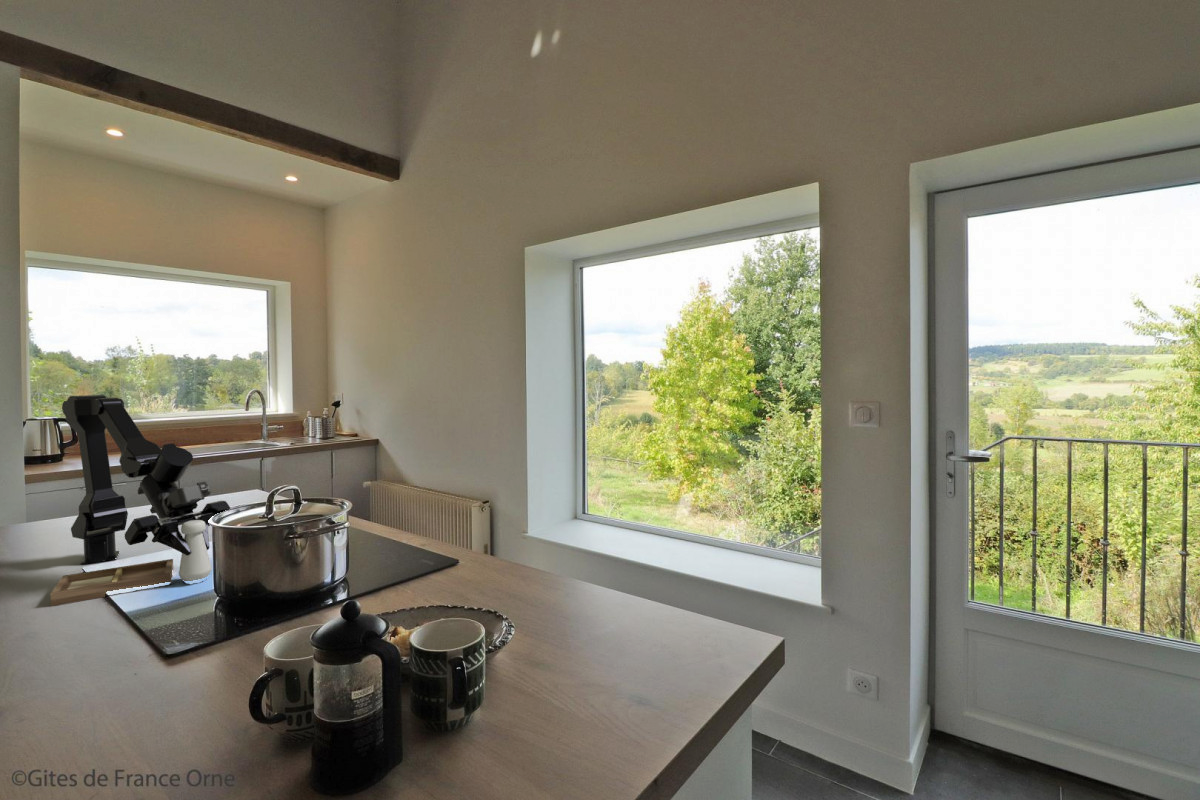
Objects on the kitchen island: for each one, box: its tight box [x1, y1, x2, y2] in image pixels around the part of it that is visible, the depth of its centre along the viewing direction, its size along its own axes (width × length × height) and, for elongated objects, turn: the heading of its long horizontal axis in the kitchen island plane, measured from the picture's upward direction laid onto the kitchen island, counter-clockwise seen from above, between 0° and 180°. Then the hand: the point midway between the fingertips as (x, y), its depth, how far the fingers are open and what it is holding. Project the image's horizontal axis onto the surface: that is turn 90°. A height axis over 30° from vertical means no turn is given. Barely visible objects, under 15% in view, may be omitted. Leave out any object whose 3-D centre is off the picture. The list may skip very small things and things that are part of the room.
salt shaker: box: [178, 520, 213, 581], centre depth 122 cm, size 6×6×13 cm
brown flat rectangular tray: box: [50, 558, 174, 607], centre depth 119 cm, size 12×18×2 cm, turn 125°
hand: (198, 551), depth 121 cm, fingers closed on salt shaker, 3 cm apart
